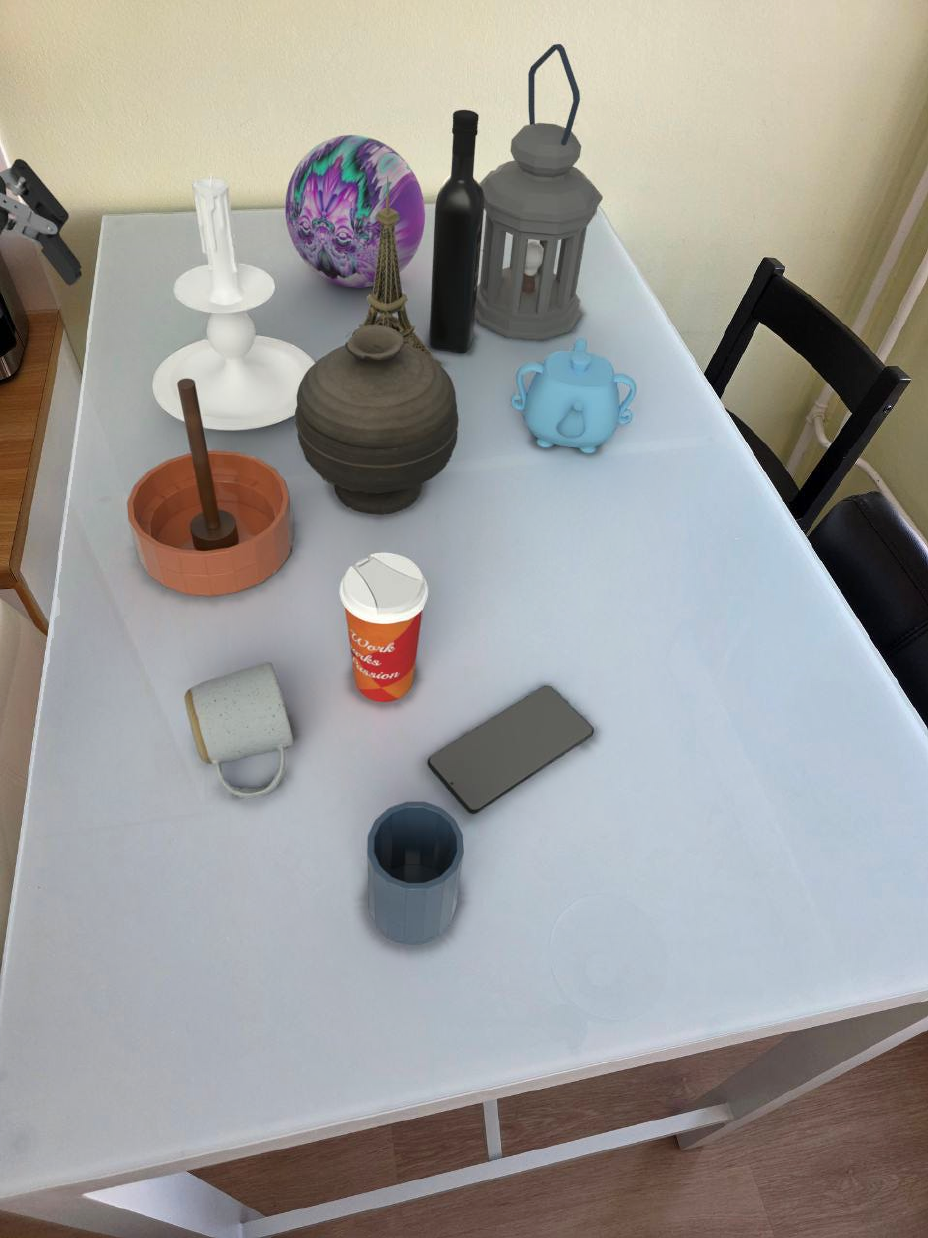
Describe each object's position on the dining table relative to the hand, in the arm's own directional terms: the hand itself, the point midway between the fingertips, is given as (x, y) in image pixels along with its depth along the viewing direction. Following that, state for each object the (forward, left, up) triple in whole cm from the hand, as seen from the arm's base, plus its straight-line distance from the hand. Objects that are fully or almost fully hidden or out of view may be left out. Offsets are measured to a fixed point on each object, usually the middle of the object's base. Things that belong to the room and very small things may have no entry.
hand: (38, 299), depth 79 cm
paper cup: (-8, -36, -27) cm, 46 cm away
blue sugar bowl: (+37, -42, -27) cm, 63 cm away
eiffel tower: (+42, -15, -27) cm, 53 cm away
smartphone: (-11, -50, -27) cm, 58 cm away
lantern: (+64, -28, -27) cm, 75 cm away
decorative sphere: (+61, -2, -27) cm, 67 cm away
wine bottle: (+51, -21, -27) cm, 62 cm away
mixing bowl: (+2, -12, -27) cm, 30 cm away
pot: (+18, -24, -27) cm, 41 cm away
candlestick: (+28, 0, -27) cm, 39 cm away
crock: (-28, -47, -27) cm, 61 cm away
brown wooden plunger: (+2, -12, -27) cm, 29 cm away
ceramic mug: (-20, -28, -27) cm, 44 cm away
